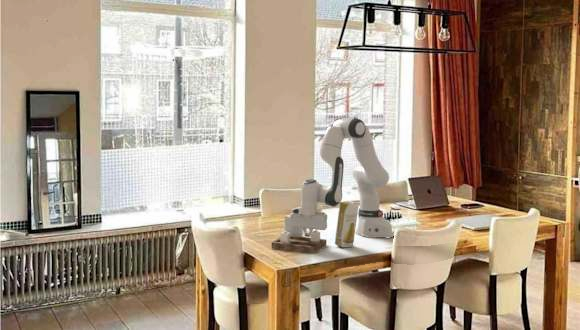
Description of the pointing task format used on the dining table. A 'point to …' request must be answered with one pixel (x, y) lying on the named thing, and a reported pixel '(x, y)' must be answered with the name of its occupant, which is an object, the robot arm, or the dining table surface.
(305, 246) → the switch board
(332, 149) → the robot arm
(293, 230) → the supplement box
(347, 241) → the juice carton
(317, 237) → the tab
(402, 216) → the dining table surface
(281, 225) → the dining table surface
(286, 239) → the tab
